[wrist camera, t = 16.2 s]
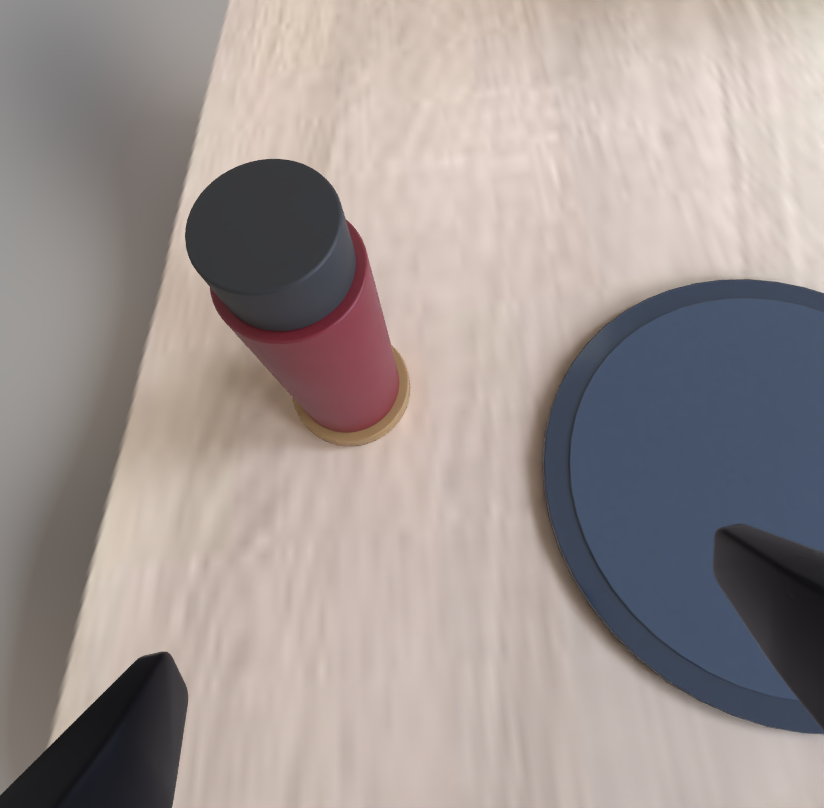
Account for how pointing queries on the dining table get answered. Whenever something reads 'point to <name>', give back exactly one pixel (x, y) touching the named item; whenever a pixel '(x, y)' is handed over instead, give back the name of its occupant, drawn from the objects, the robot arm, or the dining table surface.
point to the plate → (691, 475)
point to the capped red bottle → (300, 295)
